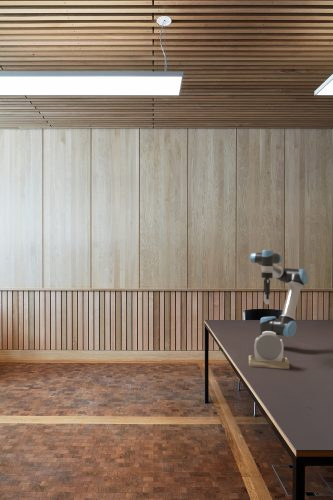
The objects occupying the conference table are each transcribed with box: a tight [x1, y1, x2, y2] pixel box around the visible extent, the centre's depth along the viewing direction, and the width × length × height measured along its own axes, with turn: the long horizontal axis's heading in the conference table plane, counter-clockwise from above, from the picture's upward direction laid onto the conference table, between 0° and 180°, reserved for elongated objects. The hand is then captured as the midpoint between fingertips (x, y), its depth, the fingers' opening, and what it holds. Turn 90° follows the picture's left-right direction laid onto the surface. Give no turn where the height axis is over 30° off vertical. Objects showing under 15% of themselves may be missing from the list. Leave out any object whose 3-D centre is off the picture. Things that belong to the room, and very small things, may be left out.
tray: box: [248, 354, 290, 370], centre depth 272 cm, size 13×24×4 cm, turn 82°
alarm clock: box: [253, 331, 284, 362], centre depth 272 cm, size 18×8×20 cm, turn 75°
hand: (266, 303), depth 296 cm, fingers open, 13 cm apart
